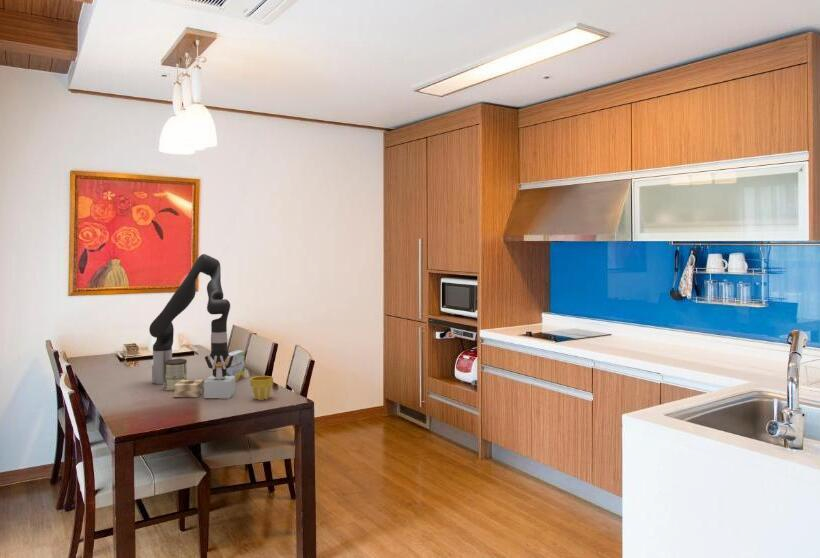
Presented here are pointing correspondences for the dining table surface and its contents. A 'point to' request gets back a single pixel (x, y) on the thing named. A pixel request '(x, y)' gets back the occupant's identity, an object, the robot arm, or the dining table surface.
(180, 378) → the coffee can
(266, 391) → the plant pot
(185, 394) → the mount
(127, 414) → the dining table surface
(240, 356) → the snack box
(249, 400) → the dining table surface
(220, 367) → the pin
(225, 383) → the socket
